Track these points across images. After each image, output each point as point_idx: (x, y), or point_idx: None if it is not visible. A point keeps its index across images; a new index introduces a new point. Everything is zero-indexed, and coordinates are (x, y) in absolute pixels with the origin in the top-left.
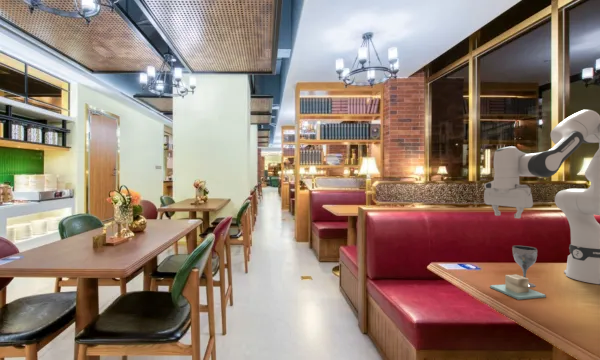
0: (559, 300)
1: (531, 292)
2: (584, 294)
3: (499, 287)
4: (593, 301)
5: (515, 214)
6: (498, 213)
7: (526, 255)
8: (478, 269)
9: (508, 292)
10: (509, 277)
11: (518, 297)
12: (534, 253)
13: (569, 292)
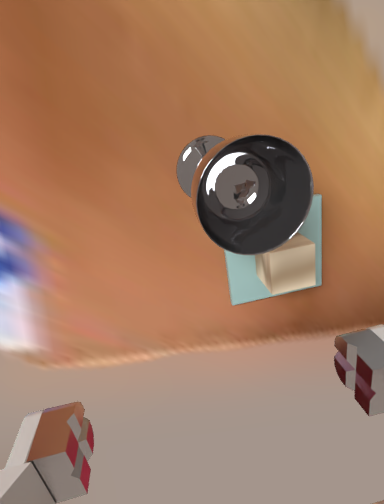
0: (343, 172)
1: None
2: (322, 23)
3: (250, 289)
4: (372, 62)
5: (381, 404)
6: (82, 450)
7: (286, 217)
8: (23, 232)
9: None
10: (286, 290)
11: (321, 284)
12: (303, 181)
13: (298, 66)
